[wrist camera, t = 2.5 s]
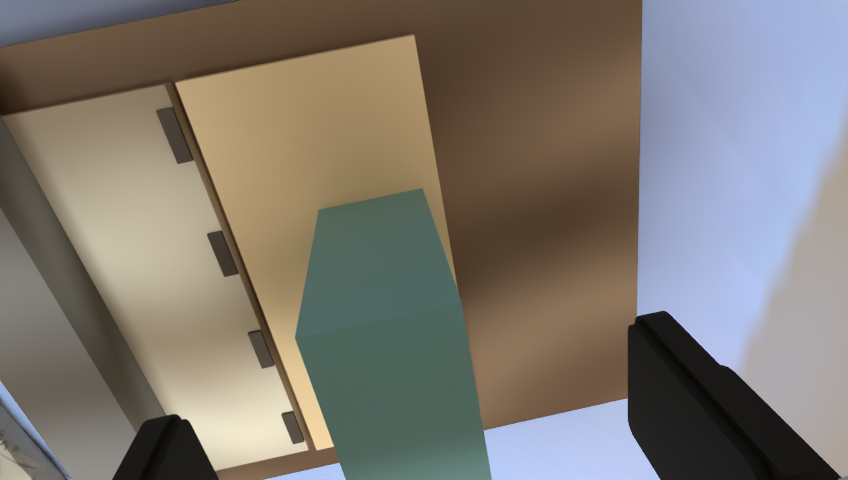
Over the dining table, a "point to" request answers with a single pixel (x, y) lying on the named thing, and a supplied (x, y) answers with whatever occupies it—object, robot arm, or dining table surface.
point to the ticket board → (219, 253)
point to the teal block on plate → (349, 252)
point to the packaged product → (22, 454)
